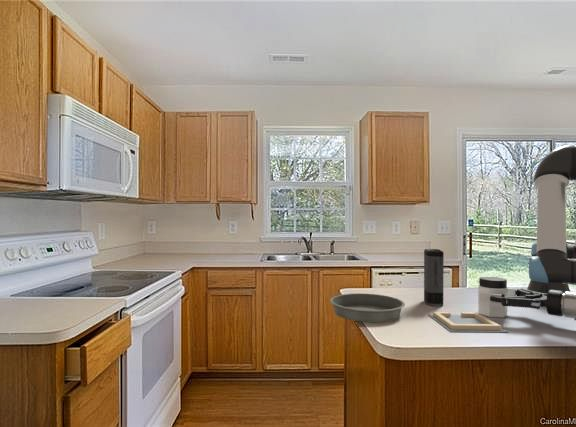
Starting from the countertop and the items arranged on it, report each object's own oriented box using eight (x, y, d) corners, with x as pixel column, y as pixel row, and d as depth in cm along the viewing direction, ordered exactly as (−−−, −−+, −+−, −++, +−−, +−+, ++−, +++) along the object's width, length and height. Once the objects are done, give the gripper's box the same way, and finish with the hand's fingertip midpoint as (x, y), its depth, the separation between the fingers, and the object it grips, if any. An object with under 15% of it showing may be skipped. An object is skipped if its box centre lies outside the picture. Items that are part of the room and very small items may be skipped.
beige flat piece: (477, 315, 127) (477, 311, 127) (507, 332, 109) (507, 327, 109) (428, 315, 127) (428, 310, 127) (450, 332, 109) (450, 326, 109)
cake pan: (321, 319, 122) (321, 305, 122) (339, 303, 145) (339, 291, 145) (401, 328, 113) (401, 313, 113) (407, 309, 136) (407, 296, 136)
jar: (482, 310, 135) (482, 275, 135) (509, 313, 129) (509, 278, 129) (475, 315, 128) (475, 278, 128) (503, 319, 123) (503, 281, 123)
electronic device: (444, 306, 140) (444, 251, 140) (427, 305, 141) (427, 251, 141) (439, 300, 149) (439, 249, 149) (423, 300, 150) (423, 248, 150)
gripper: (554, 324, 105) (473, 310, 121) (572, 309, 123) (499, 298, 138) (554, 297, 105) (473, 286, 121) (572, 285, 123) (499, 277, 138)
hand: (487, 293), depth 129 cm, fingers open, 13 cm apart
